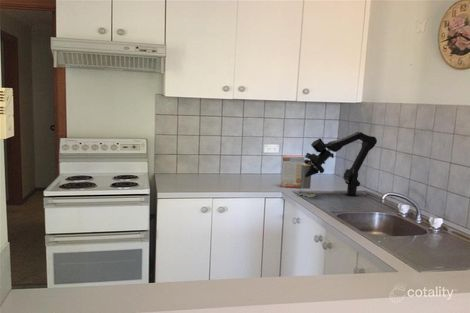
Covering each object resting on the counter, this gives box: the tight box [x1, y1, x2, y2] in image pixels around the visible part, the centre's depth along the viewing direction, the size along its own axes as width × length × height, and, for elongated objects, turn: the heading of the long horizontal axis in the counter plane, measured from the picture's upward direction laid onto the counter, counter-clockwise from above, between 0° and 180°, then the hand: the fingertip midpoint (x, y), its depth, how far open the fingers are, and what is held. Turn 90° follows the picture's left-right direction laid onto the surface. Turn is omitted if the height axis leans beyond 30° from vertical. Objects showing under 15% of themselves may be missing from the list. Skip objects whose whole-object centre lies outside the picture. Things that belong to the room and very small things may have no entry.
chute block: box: [300, 163, 312, 190], centre depth 255 cm, size 4×4×14 cm
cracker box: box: [280, 154, 305, 189], centre depth 279 cm, size 14×6×21 cm, turn 92°
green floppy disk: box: [299, 192, 316, 198], centre depth 257 cm, size 7×8×1 cm
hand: (303, 175), depth 254 cm, fingers closed on chute block, 4 cm apart
